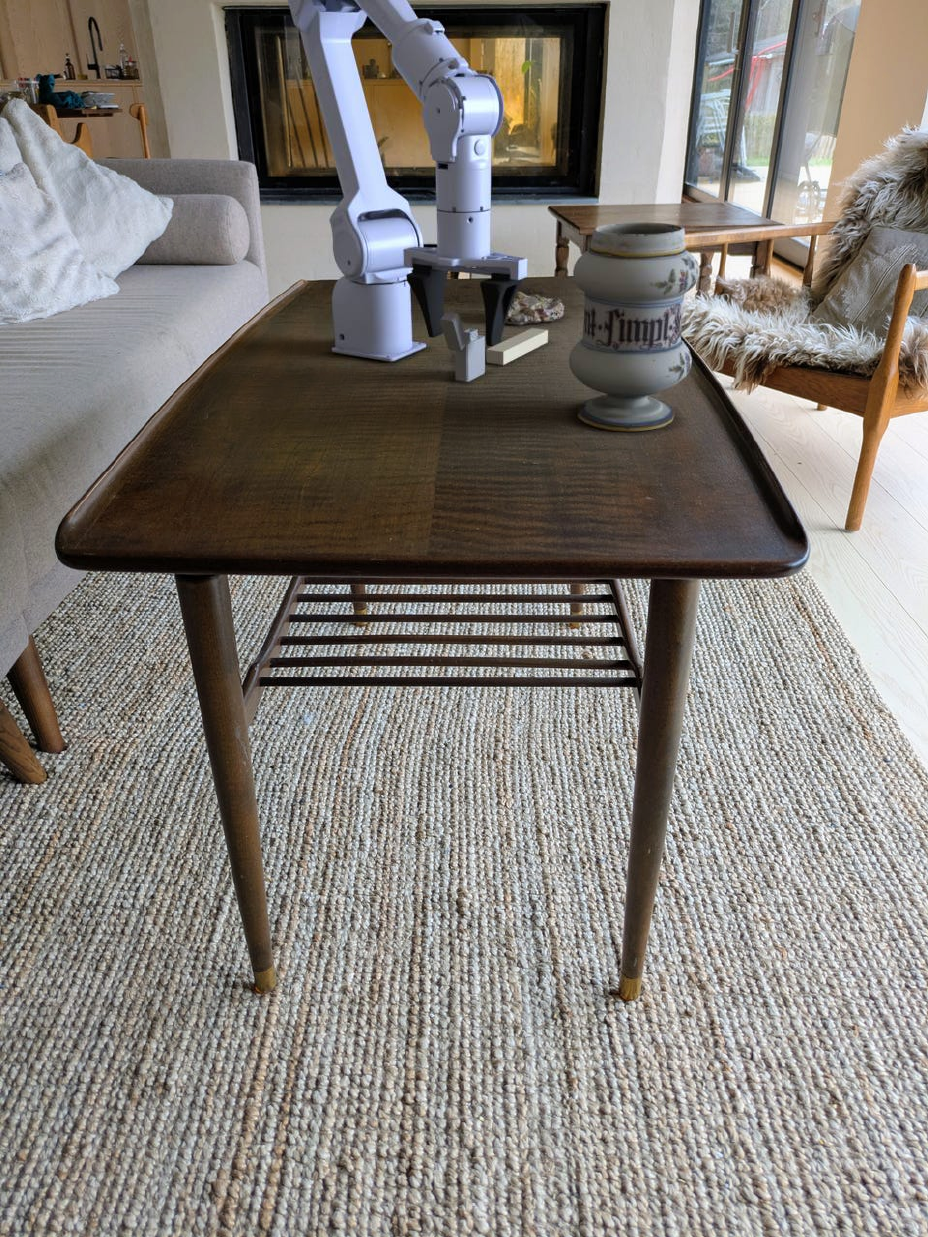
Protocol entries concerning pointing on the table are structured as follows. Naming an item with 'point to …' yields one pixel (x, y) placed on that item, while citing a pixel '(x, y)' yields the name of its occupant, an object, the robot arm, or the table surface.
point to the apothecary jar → (632, 323)
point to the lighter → (464, 347)
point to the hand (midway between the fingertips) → (464, 339)
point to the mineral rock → (533, 309)
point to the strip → (516, 346)
